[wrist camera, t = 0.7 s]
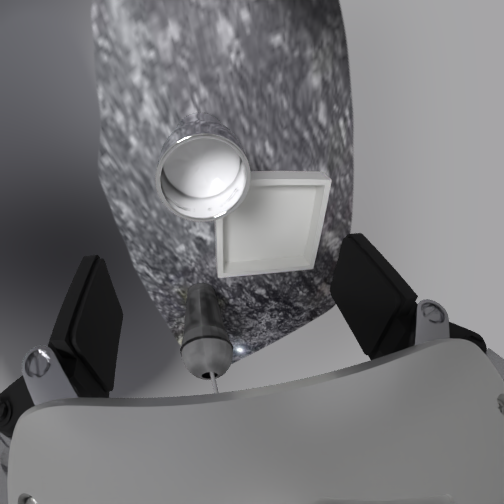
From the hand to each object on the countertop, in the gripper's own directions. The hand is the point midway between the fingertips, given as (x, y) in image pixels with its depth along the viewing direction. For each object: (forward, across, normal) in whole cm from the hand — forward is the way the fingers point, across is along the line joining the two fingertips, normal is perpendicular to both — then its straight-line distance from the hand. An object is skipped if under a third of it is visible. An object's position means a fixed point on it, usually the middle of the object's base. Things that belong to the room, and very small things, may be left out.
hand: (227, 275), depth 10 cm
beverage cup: (+26, +2, +24) cm, 35 cm away
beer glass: (+25, 0, -1) cm, 25 cm away
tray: (+25, -8, +11) cm, 29 cm away
